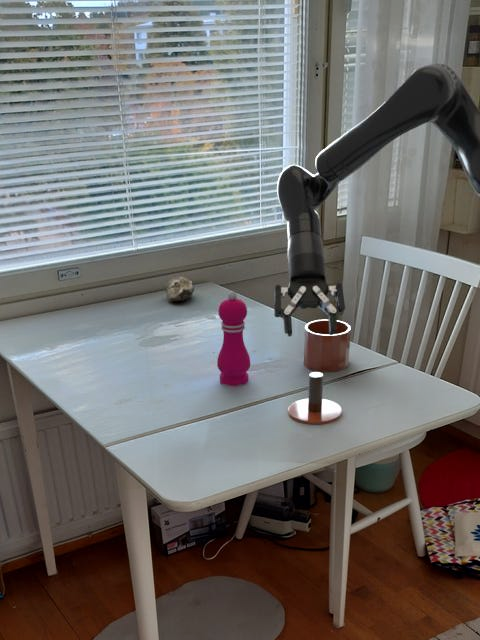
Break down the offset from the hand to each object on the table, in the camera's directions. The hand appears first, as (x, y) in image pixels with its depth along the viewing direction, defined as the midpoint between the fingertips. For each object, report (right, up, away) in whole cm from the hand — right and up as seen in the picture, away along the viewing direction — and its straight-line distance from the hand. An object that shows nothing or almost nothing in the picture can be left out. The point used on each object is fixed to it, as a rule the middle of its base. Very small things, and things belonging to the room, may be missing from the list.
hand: (311, 334), depth 159 cm
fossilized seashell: (-31, +26, +61) cm, 73 cm away
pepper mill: (-16, -7, +14) cm, 22 cm away
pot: (+5, -1, +22) cm, 22 cm away
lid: (+1, -16, -1) cm, 16 cm away
